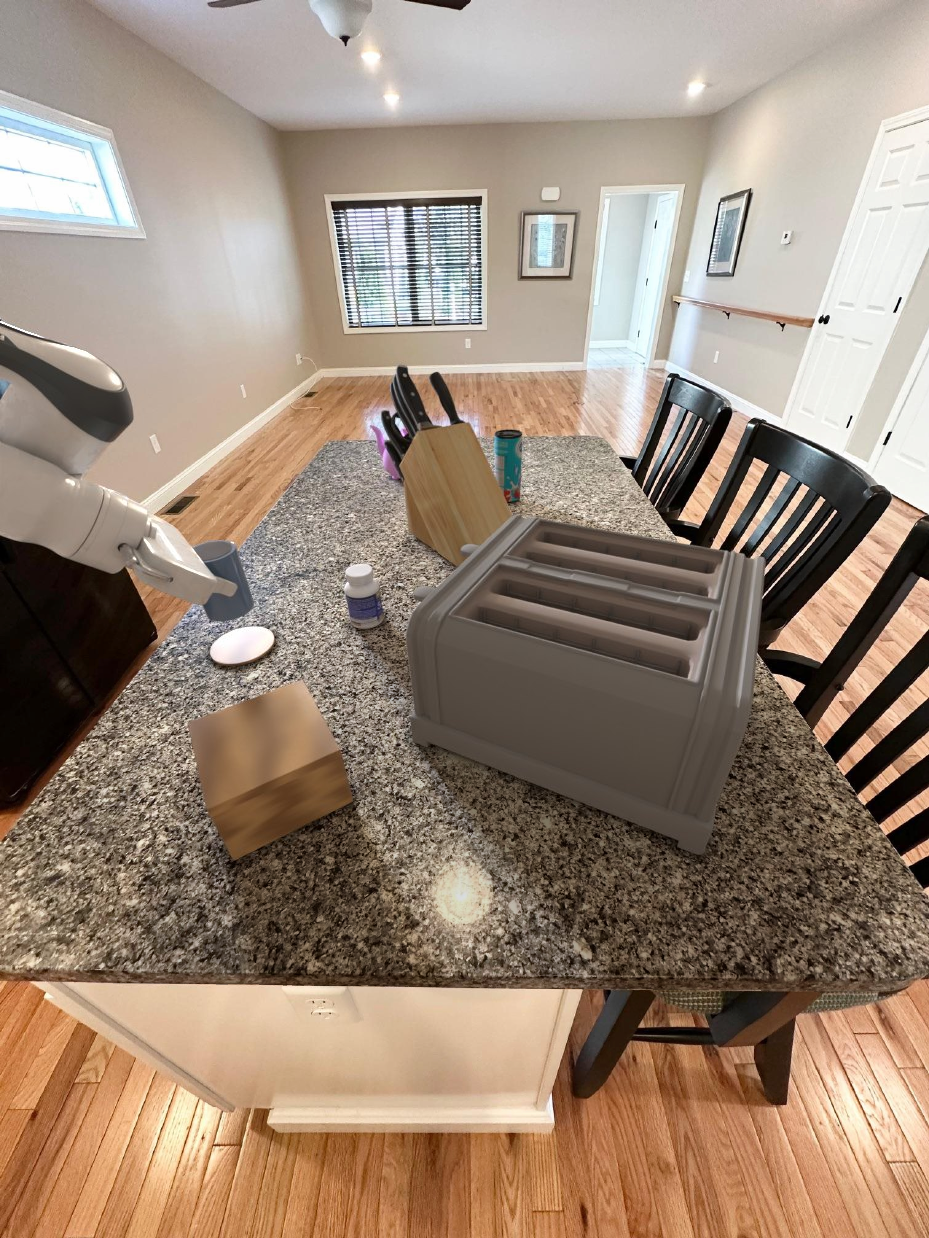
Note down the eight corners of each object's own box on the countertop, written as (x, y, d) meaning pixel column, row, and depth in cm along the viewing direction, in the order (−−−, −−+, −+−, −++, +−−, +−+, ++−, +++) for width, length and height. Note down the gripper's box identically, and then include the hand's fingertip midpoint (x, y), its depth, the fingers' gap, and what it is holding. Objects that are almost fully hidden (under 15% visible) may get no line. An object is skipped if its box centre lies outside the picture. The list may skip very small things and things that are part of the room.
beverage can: (517, 506, 115) (519, 437, 107) (491, 503, 117) (491, 436, 108) (522, 496, 120) (525, 430, 111) (498, 494, 121) (498, 428, 113)
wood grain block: (233, 861, 48) (206, 809, 44) (211, 773, 57) (187, 722, 52) (353, 801, 53) (340, 749, 49) (317, 728, 62) (302, 678, 57)
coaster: (216, 674, 71) (215, 672, 70) (205, 641, 77) (205, 639, 77) (281, 651, 74) (281, 649, 74) (266, 621, 81) (265, 619, 80)
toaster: (492, 602, 83) (492, 500, 73) (732, 662, 69) (772, 547, 59) (383, 730, 61) (362, 609, 51) (702, 857, 47) (758, 724, 37)
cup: (210, 627, 68) (186, 567, 63) (202, 604, 73) (180, 547, 68) (259, 611, 71) (240, 553, 66) (248, 591, 75) (230, 535, 70)
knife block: (432, 506, 116) (421, 355, 99) (531, 568, 92) (540, 381, 74) (387, 518, 112) (368, 362, 94) (479, 587, 87) (475, 392, 69)
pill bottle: (387, 624, 79) (380, 574, 74) (354, 633, 77) (344, 582, 72) (379, 607, 83) (372, 558, 78) (347, 615, 81) (337, 565, 76)
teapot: (361, 479, 132) (354, 431, 125) (389, 462, 143) (384, 417, 136) (430, 488, 126) (427, 438, 119) (454, 470, 136) (452, 422, 129)
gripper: (145, 540, 52) (264, 588, 62) (111, 486, 65) (213, 533, 76) (114, 592, 52) (237, 632, 63) (86, 528, 66) (192, 569, 76)
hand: (224, 578), depth 69 cm, fingers closed on cup, 6 cm apart
